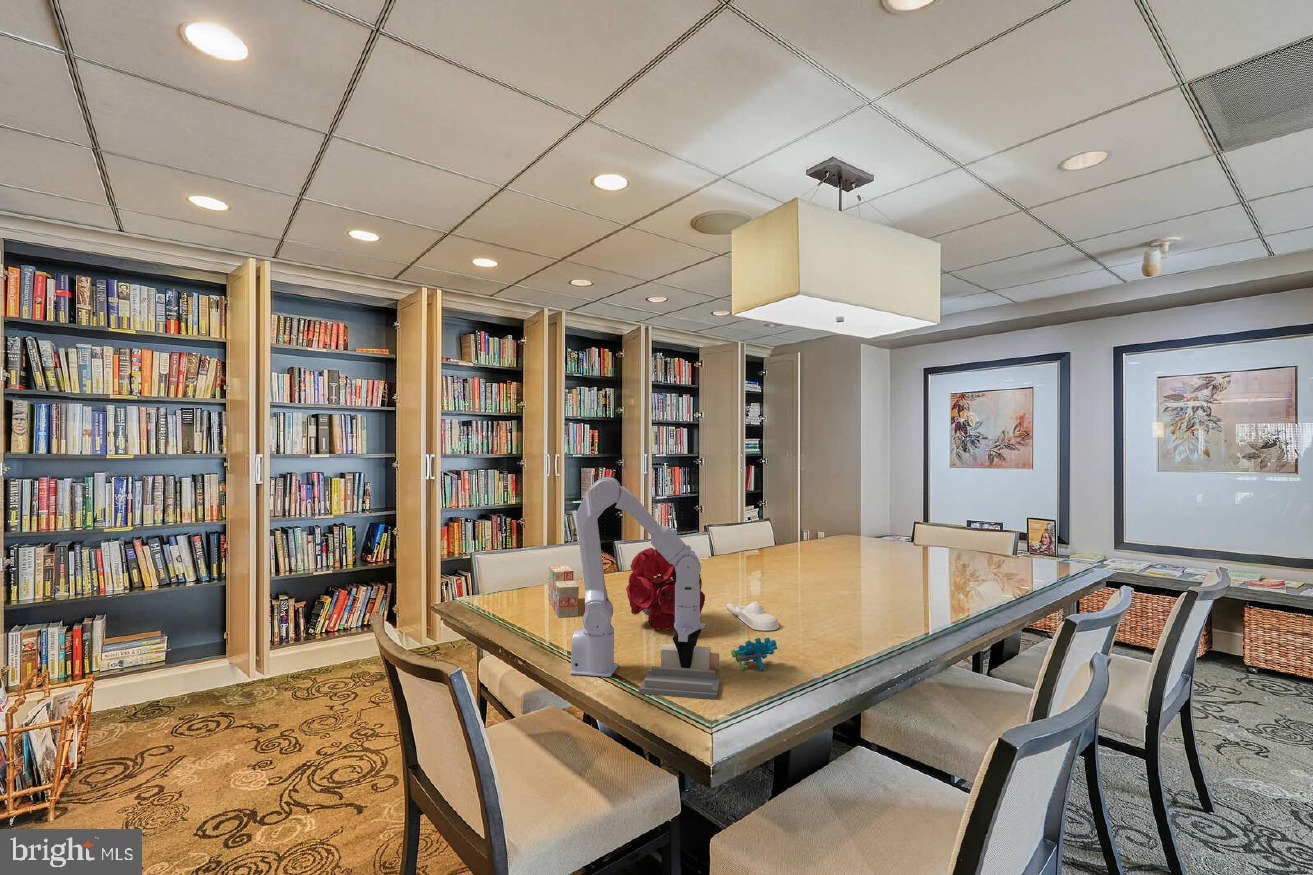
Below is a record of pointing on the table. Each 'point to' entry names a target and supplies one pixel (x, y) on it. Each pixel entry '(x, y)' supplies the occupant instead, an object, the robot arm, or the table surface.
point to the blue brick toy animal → (754, 651)
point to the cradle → (681, 682)
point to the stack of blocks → (563, 591)
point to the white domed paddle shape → (754, 616)
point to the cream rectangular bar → (699, 661)
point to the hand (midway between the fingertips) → (687, 664)
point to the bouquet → (654, 588)
